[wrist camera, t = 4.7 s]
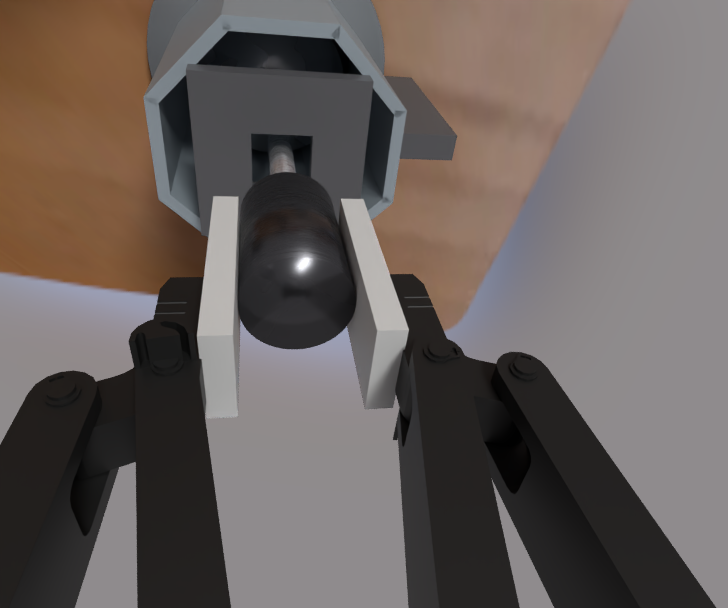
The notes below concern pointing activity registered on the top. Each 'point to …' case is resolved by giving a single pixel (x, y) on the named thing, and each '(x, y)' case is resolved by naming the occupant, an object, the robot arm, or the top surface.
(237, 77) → the carafe
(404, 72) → the top surface
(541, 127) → the top surface
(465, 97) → the top surface
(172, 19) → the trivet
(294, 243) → the plunger
